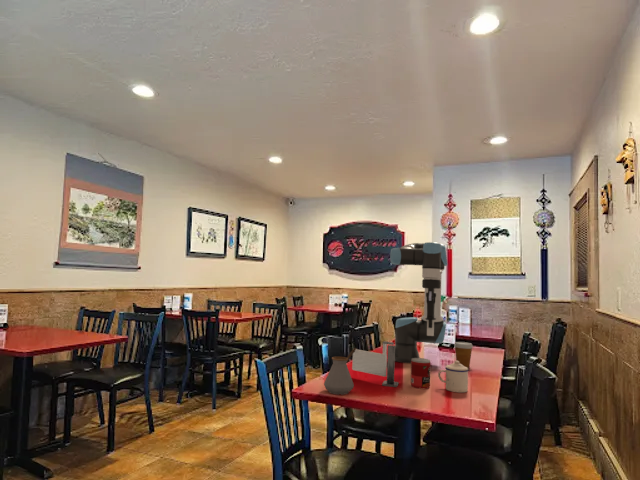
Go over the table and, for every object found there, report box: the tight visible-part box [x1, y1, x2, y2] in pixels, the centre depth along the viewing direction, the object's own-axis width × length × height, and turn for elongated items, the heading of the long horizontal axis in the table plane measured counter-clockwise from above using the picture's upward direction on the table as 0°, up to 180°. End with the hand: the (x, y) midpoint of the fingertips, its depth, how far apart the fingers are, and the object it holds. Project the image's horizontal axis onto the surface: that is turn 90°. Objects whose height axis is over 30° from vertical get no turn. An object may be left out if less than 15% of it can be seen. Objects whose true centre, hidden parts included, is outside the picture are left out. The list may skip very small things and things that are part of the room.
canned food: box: [410, 357, 431, 390], centre depth 184 cm, size 8×8×11 cm
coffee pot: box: [323, 347, 359, 395], centre depth 175 cm, size 21×12×15 cm, turn 152°
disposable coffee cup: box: [453, 341, 474, 368], centre depth 233 cm, size 10×10×12 cm
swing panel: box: [351, 340, 395, 378], centre depth 192 cm, size 20×2×14 cm, turn 49°
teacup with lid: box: [437, 360, 469, 394], centre depth 182 cm, size 12×9×12 cm
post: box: [381, 344, 400, 388], centre depth 185 cm, size 6×6×16 cm
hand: (430, 335), depth 185 cm, fingers closed
